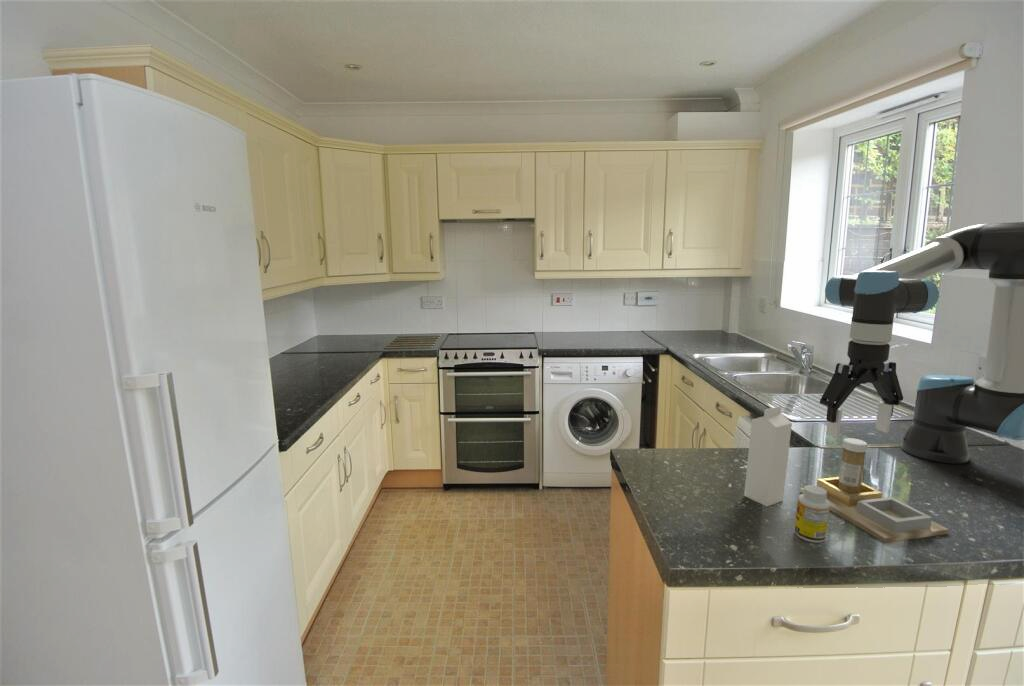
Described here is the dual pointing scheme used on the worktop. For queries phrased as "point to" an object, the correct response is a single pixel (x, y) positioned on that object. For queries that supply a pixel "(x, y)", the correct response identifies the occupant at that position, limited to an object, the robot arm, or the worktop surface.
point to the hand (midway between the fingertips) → (857, 433)
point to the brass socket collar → (845, 497)
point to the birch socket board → (877, 529)
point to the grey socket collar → (909, 523)
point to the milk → (768, 457)
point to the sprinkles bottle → (852, 465)
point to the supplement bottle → (812, 514)
